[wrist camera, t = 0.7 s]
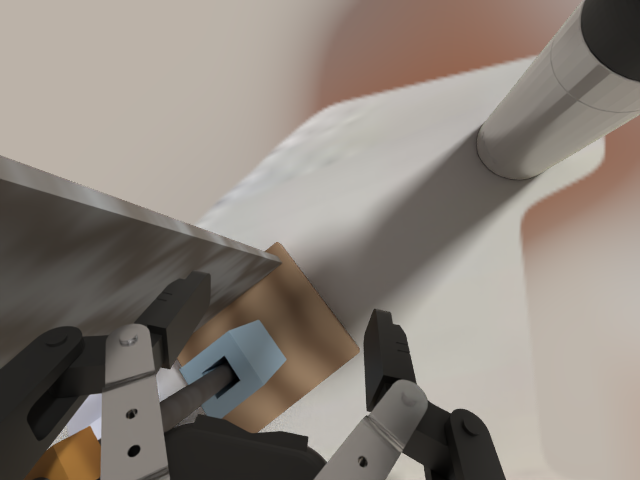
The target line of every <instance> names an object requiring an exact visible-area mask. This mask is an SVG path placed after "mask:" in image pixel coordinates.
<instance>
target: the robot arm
mask: <svg viewBox="0 0 640 480" xmlns="http://www.w3.org/2000/svg"><path fill="white" fill-rule="evenodd" d="M638 115H640V0H583V1H582V2H581V3H580V4H579V6H578V7H577V8H576V9H575V10H574V12H573V13H572V14H571V15H570V17H569V18H568V19H567V20H566V22H565V23H564V24H563V25H562V27H561V28H560V29H559V31H558V32H557V33H556V34H555V36H554V37H553V38H552V39H551V41H550V42H549V43H548V44H547V46H546V47H545V48H544V49H543V51H542V52H541V53H540V54H539V55H538V57H537V58H536V59H535V60H534V62H533V63H532V64H531V65H530V67H529V68H528V69H527V70H526V72H525V73H524V74H523V75H522V77H521V78H520V79H519V80H518V82H517V83H516V84H515V85H514V87H513V88H512V89H511V90H510V92H509V93H508V94H507V95H506V97H505V98H504V99H503V100H502V101H501V103H500V104H499V105H498V106H497V108H496V109H495V110H494V111H493V113H492V114H491V115H490V116H489V118H488V119H487V120H486V121H485V123H484V124H483V125H482V127H481V128H480V131H479V133H478V136H477V150H478V153H479V156H480V158H481V160H482V162H483V163H484V164H485V165H486V166H487V167H488V169H490V170H491V171H492V172H494V173H495V174H497V175H500V176H502V177H505V178H509V179H518V180H521V179H528V178H531V177H534V176H537V175H539V174H540V173H542V172H544V171H545V170H547V169H549V168H550V167H552V166H554V165H556V164H557V163H559V162H561V161H563V160H564V159H566V158H568V157H569V156H571V155H573V154H574V153H576V152H578V151H579V150H581V149H583V148H585V147H586V146H588V145H590V144H591V143H593V142H595V141H596V140H598V139H600V138H601V137H603V136H605V135H606V134H608V133H610V132H611V131H613V130H615V129H616V128H618V127H620V126H621V125H623V124H625V123H627V122H628V121H630V120H632V119H633V118H635V117H636V116H638ZM210 299H211V275H210V273H206V272H201V271H196V270H193V271H192V272H191V273H190V274H189V275H188V276H187V278H186V279H180V278H179V279H177V280H175V281H173V282H172V283H170V284H168V285H167V287H166V288H165V289H164V290H163V291H162V293H160V294H159V295H158V297H157V298H156V300H154V301H153V302H152V303H151V304H150V305H149V306H148V308H147V309H146V310H145V311H144V312H143V313H142V314H141V315H140V316H139V318H138V319H137V320H136V321H135V322H134V323H133V324H128V325H124V326H121V327H119V328H117V329H115V330H114V331H113V332H111V333H110V335H102V336H84V337H83V335H82V332H81V330H80V329H79V328H76V327H73V326H62V327H57V328H54V329H51V330H48V331H46V332H44V333H43V334H41V335H40V336H38V337H37V338H36V339H35V340H33V341H32V342H31V343H30V344H29V345H28V346H27V347H25V348H24V349H23V350H22V351H21V352H20V353H18V354H17V355H16V356H15V357H14V358H13V359H11V360H10V361H9V362H8V363H7V364H6V365H5V366H3V367H2V368H1V369H0V480H24V478H25V477H26V476H27V475H28V473H29V472H30V471H31V469H32V468H33V467H34V466H35V464H36V463H37V462H38V460H39V459H40V458H41V457H42V455H43V454H44V453H45V451H46V450H47V449H48V448H49V446H50V445H51V444H52V442H53V441H54V440H55V439H56V437H57V436H58V435H59V434H60V432H61V431H62V430H63V428H64V427H65V426H66V425H67V423H68V422H69V421H70V419H71V418H72V417H73V416H74V414H75V413H76V412H77V410H78V409H79V408H80V407H81V405H82V404H83V403H84V401H85V400H86V399H87V398H88V396H89V395H91V394H101V393H102V416H101V475H100V477H99V478H98V479H96V480H385V479H386V478H387V476H388V474H389V473H390V471H391V469H392V468H393V466H394V464H395V463H396V461H397V459H398V458H399V456H400V454H401V452H402V453H404V454H405V455H407V456H409V457H410V458H412V459H414V460H416V461H417V462H419V463H421V464H422V465H424V471H425V478H426V480H506V478H505V476H504V473H503V470H502V467H501V464H500V461H499V459H498V456H497V453H496V450H495V447H494V445H493V442H492V439H491V436H490V433H489V431H488V429H487V427H486V425H485V424H484V423H483V422H482V420H481V419H480V418H479V417H477V416H476V415H475V414H473V413H472V412H470V411H468V410H465V409H456V410H454V411H453V412H452V413H449V412H447V411H445V410H443V409H441V408H439V407H437V406H435V405H434V404H432V403H431V402H429V401H428V400H427V397H426V395H425V393H424V392H423V390H422V389H421V388H420V387H419V386H418V385H417V383H416V379H415V374H414V370H413V365H412V360H411V356H410V354H409V353H410V351H409V347H408V342H407V337H406V334H405V333H404V331H403V330H402V328H401V327H400V325H395V324H393V322H392V316H391V313H390V312H387V311H383V310H378V309H374V310H373V313H372V315H371V318H370V321H369V323H368V326H367V329H366V332H365V335H364V366H365V387H366V408H367V411H368V412H371V413H370V414H369V415H368V416H365V417H364V418H363V419H362V420H361V421H360V423H359V424H358V425H357V426H356V428H355V429H354V430H353V431H352V433H351V434H350V435H349V436H348V438H347V439H346V440H345V441H344V442H343V444H342V445H341V446H340V447H339V449H338V450H337V451H336V452H335V454H334V455H333V456H332V457H331V459H330V460H329V461H328V462H326V461H325V459H324V458H323V457H322V456H321V455H320V454H318V453H317V452H316V451H315V450H313V449H312V448H310V447H308V446H307V444H308V437H307V436H302V435H297V434H293V433H288V432H283V431H277V432H264V433H250V432H248V431H246V430H244V429H242V428H240V427H238V426H236V425H235V424H233V423H231V422H229V421H227V420H225V419H220V418H215V417H211V416H206V415H201V414H198V416H197V418H196V420H195V422H194V423H190V424H185V425H181V426H178V427H175V428H172V429H170V430H168V431H166V432H163V425H162V418H161V410H160V403H159V396H158V389H157V381H156V374H157V372H158V371H159V369H160V368H161V367H162V368H166V369H170V368H171V367H172V365H173V364H174V362H175V360H176V359H177V357H178V356H179V354H180V353H181V351H182V349H183V348H184V346H185V345H186V343H187V342H188V340H189V338H190V337H191V335H192V334H193V332H194V330H195V329H196V327H197V326H198V324H199V323H200V321H201V319H202V318H203V316H204V315H205V313H206V311H207V309H208V307H209V304H210Z"/></svg>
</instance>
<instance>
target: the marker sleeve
mask: <svg viewBox="0 0 640 480" xmlns="http://www.w3.org/2000/svg"><path fill="white" fill-rule="evenodd" d="M286 360H287V359H286V358H285V356H284V355H283V353H282V352H281V351H280V349H279V348H278V346H277V345H276V343H275V342H274V340H273V339H272V337H271V336H270V335H269V333H268V332H267V330H266V329H265V327H264V326H263V324H262V323H261V322H260V320H256V321H254V322H251V323H248V324H246V325H243V326H240V327H237V328H235V329H232V330H229V331H228V332H226V333H225V334H224V335H222V336H221V337H220V338H219V339H217V340H216V341H215V342H214V343H212V344H211V345H210V346H208V347H207V348H206V349H205V350H203V351H202V352H201V353H200V354H198V355H197V356H196V357H194V358H193V359H192V360H191V361H189V362H188V363H187V364H186V365H184V366H183V367H182V368H180V369H179V370H180V372H181V373H182V375H183V377H184V378H185V380H186V382H187V383H188V385H189V384H191V383H193V382H194V381H196V380H197V379H199V378H201V377H202V376H204V375H206V374H207V373H209V372H211V371H212V370H214V369H216V368H217V367H219V366H221V365H222V364H224V363H226V362H227V361H228V362H229V364H230V365H231V367H232V368H233V370H234V371H235V373H236V374H237V376H238V377H236V378H235V379H234V380H233V381H231V382H230V383H229V384H228V385H226V386H225V387H224V388H222V389H221V390H220V391H219V392H217V393H216V394H215V395H214V396H212V397H211V398H210V399H209V400H207V401H206V402H205V403H203V404H202V405H201V407H202V408H203V410H204V411H205V413H206V415H207V416H211V417H215V418H220V419H221V418H223V417H224V416H225V415H227V414H228V413H229V412H230V411H232V410H233V409H234V408H235V407H237V406H238V405H239V404H241V403H242V402H243V401H244V400H246V399H247V398H248V397H249V396H251V395H252V394H253V393H255V392H256V391H257V390H258V389H260V388H261V387H262V386H263V385H265V383H266V382H267V381H268V380H269V379H270V378H271V377H272V376H273V374H274V373H275V372H276V371H277V370H278V369H279V368H280V367H281V366H282V364H283V363H284V362H285V361H286Z"/></svg>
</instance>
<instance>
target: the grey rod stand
mask: <svg viewBox="0 0 640 480" xmlns="http://www.w3.org/2000/svg"><path fill="white" fill-rule="evenodd" d="M193 270H196V271H201V272H206V273H210V275H211V299H210V304H209V307H208V309H207V311H206V313H205V315H204V316H203V318H202V319H201V321H200V323H199V324H198V326H197V327H196V329H195V330H194V332H193V334H192V335H191V337H190V338H189V340H188V342H187V343H186V345H185V346H184V348H183V349H182V351H181V353H180V354H179V356H178V357H177V359H178V361H179V363H180V364H181V366H182V367H183V366H184V365H186V364H187V363H188V362H189V361H191V360H192V359H193V358H194V357H196V356H197V355H198V354H200V353H201V352H202V351H203V350H205V349H206V348H207V347H208V346H210V345H211V344H212V343H214V342H215V341H216V340H217V339H219V338H220V337H221V336H222V335H224V334H225V333H226V332H228V331H229V330H232V329H235V328H237V327H240V326H243V325H246V324H248V323H251V322H254V321H256V320H260V322H261V323H262V324H263V326H264V327H265V329H266V330H267V332H268V333H269V335H270V336H271V337H272V339H273V340H274V342H275V343H276V345H277V346H278V348H279V349H280V351H281V352H282V353H283V355H284V356H285V358H286V359H287V360H286V361H285V362H284V363H283V364H282V366H281V367H280V368H279V369H278V370H277V371H276V372H275V373H274V374H273V376H272V377H271V378H270V379H269V380H268V381H267V382H266V383H265V385H263V386H262V387H261V388H260V389H258V390H257V391H256V392H255V393H253V394H252V395H251V396H249V397H248V398H247V399H246V400H244V401H243V402H242V403H241V404H239V405H238V406H237V407H235V408H234V409H233V410H232V411H230V412H229V413H228V414H227V415H225V416H224V417H223V418H221V419H225V420H227V421H229V422H231V423H233V424H235V425H236V426H238V427H240V428H242V429H244V430H246V431H248V432H250V433H257V432H259V431H260V430H261V429H263V428H264V427H265V426H266V425H268V424H269V423H270V422H271V421H273V420H274V419H275V418H277V417H278V416H279V415H280V414H282V413H283V412H284V411H285V410H287V409H288V408H289V407H291V406H292V405H293V404H294V403H296V402H297V401H298V400H299V399H301V398H302V397H303V396H304V395H306V394H307V393H308V392H310V391H311V390H312V389H313V388H315V387H316V386H317V385H318V384H320V383H321V382H322V381H324V380H325V379H326V378H327V377H329V376H330V375H331V374H332V373H334V372H335V371H336V370H338V369H339V368H340V367H341V366H343V365H344V364H345V363H346V362H348V361H349V360H350V359H352V358H353V357H354V356H355V355H357V354H358V353H359V352H360V349H359V347H358V346H357V344H356V343H355V342H354V340H353V339H352V338H351V336H350V335H349V334H348V332H347V331H346V330H345V328H344V327H343V326H342V324H341V323H340V322H339V320H338V319H337V318H336V316H335V315H334V314H333V312H332V311H331V310H330V308H329V307H328V306H327V304H326V303H325V302H324V300H323V299H322V298H321V296H320V295H319V294H318V292H317V291H316V290H315V288H314V287H313V286H312V284H311V283H310V282H309V280H308V279H307V278H306V276H305V275H304V274H303V272H302V271H301V270H300V268H299V267H298V266H297V264H296V263H295V262H294V260H293V259H292V258H291V257H290V255H289V254H288V253H287V251H286V250H285V249H284V247H283V246H282V245H281V244H280V243H278V242H276V243H275V244H274V245H272V246H271V247H270V248H268V249H267V250H266V251H265V252H264V251H262V250H259V249H256V248H253V247H251V246H248V245H245V244H242V243H240V242H237V241H234V240H231V239H229V238H226V237H223V236H220V235H218V234H215V233H212V232H209V231H207V230H204V229H201V228H198V227H196V226H193V225H190V224H187V223H185V222H182V221H179V220H176V219H174V218H171V217H168V216H165V215H163V214H160V213H157V212H154V211H151V210H149V209H146V208H143V207H141V206H138V205H135V204H132V203H130V202H127V201H124V200H122V199H119V198H116V197H113V196H111V195H108V194H105V193H102V192H99V191H97V190H94V189H91V188H88V187H86V186H83V185H80V184H78V183H75V182H72V181H69V180H67V179H64V178H61V177H58V176H56V175H53V174H50V173H47V172H45V171H42V170H39V169H36V168H33V167H31V166H28V165H25V164H22V163H20V162H17V161H14V160H12V159H9V158H6V157H3V156H1V155H0V369H1V368H2V367H3V366H5V365H6V364H7V363H8V362H9V361H10V360H11V359H13V358H14V357H15V356H16V355H17V354H18V353H20V352H21V351H22V350H23V349H24V348H25V347H27V346H28V345H29V344H30V343H31V342H32V341H33V340H35V339H36V338H37V337H38V336H40V335H41V334H43V333H44V332H46V331H48V330H51V329H54V328H57V327H62V326H73V327H76V328H79V329H80V330H81V332H82V335H83V337H84V336H102V335H110V333H111V332H113V331H114V330H115V329H117V328H119V327H121V326H124V325H128V324H133V323H134V322H135V321H136V320H137V319H138V318H139V316H140V315H141V314H142V313H143V312H144V311H145V310H146V309H147V308H148V306H149V305H150V304H151V303H152V302H153V301H154V300H156V298H157V297H158V295H159V294H160V293H162V291H163V290H164V289H165V288H166V287H167V285H168V284H170V283H172V282H173V281H175V280H177V279H179V278H180V279H186V278H187V276H188V275H189V274H190V273H191V272H192V271H193ZM236 377H238V376H237V374H236V373H235V371H234V370H233V368H232V367H231V365H230V364H229V362H228V361H227V362H226V363H224V364H222V365H221V366H219V367H217V368H216V369H214V370H212V371H211V372H209V373H207V374H206V375H204V376H202V377H201V378H199V379H197V380H196V381H194V382H193V383H191V384H189V385H188V386H186V387H184V388H183V389H181V390H179V391H178V392H176V393H174V394H173V395H171V396H169V397H168V398H166V399H165V400H163V401H161V402H160V410H161V418H162V425H163V432H166V431H168V430H170V429H172V428H173V427H174V426H176V425H177V424H178V423H179V422H181V421H182V420H183V419H184V418H186V417H187V416H188V415H189V414H191V413H192V412H193V411H195V410H196V409H197V408H198V407H200V406H201V405H202V404H203V403H205V402H206V401H207V400H209V399H210V398H211V397H212V396H214V395H215V394H216V393H217V392H219V391H220V390H221V389H222V388H224V387H225V386H226V385H228V384H229V383H230V382H231V381H233V380H234V379H235V378H236ZM100 475H101V438H100V439H99V440H97V438H96V436H95V434H94V432H93V430H92V428H91V426H88V427H87V428H85V429H83V430H81V431H79V432H77V433H75V434H73V435H72V436H70V437H68V438H66V439H64V440H62V441H60V442H58V443H57V444H55V445H53V446H52V447H50V448H49V449H48V450H46V451H45V453H44V454H43V455H42V457H41V458H40V459H39V460H38V462H37V463H36V464H35V466H34V467H33V468H32V469H31V471H30V472H29V473H28V475H27V476H26V477H25V478H24V480H96V479H98V478H99V477H100Z"/></svg>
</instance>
